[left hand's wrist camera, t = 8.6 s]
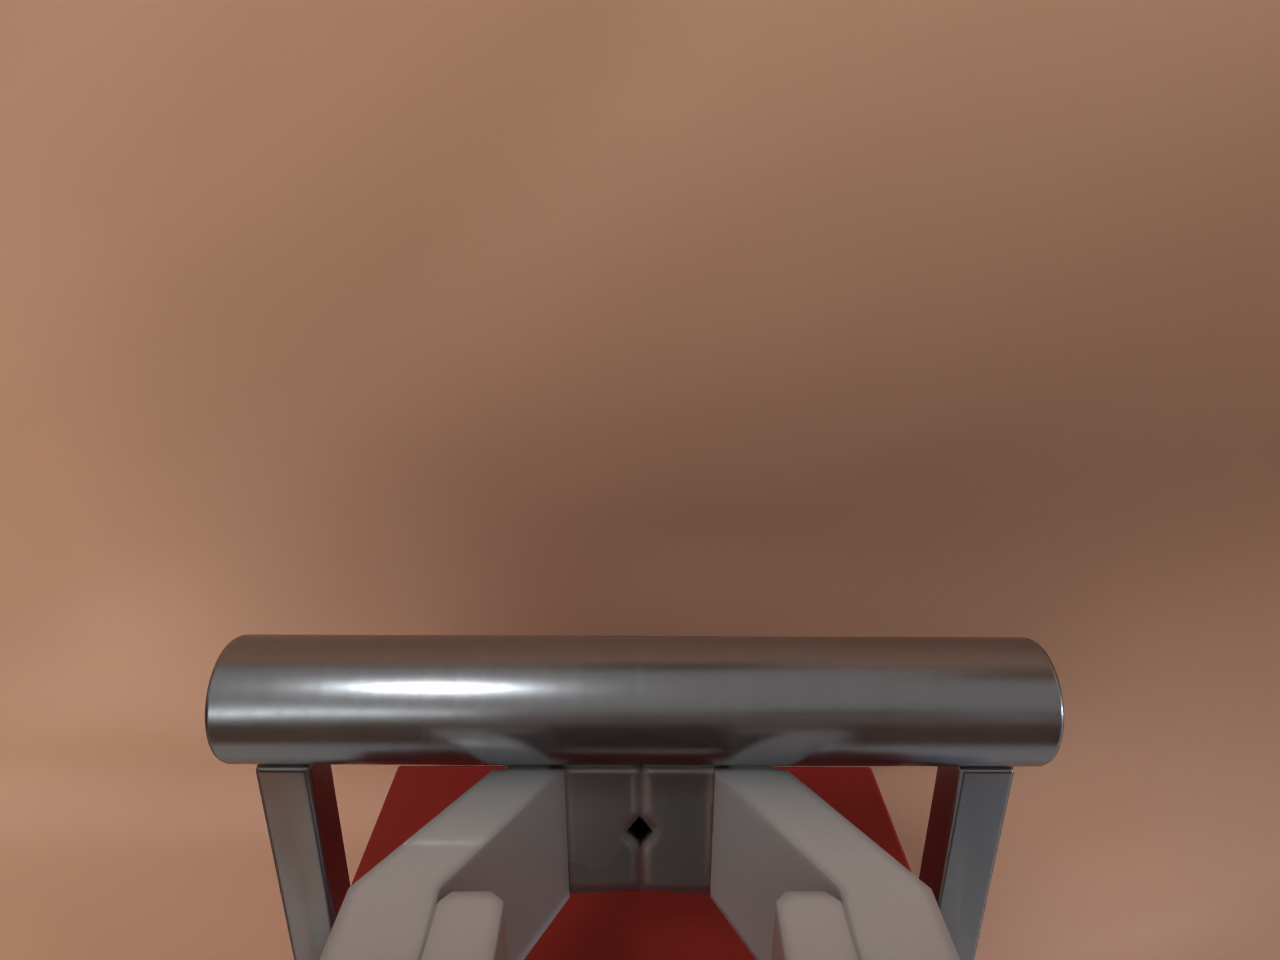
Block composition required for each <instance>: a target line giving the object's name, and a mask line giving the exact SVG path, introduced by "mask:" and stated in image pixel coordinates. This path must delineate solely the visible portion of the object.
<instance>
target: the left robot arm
mask: <svg viewBox="0 0 1280 960" xmlns="http://www.w3.org/2000/svg"><path fill="white" fill-rule="evenodd" d="M630 891H648V892H683V893H710V897H711V899H712V900H713V901H714V903H715V904H716V906H717V907H718V908H719V910H720V911H721V912H722V914H723V915H724V917H725V918H726V919H727V921H728V922H729V923H730V925H731V926H732V928H733V929H734V930H735V932H736V933H737V934H738V936H739V937H740V939H741V940H742V941H743V943H744V944H745V945H746V947H747V948H748V950H749V951H750V952H751V954H752V955H753V956H754V958H755V959H756V960H960V958H959V956H958V953H957V951H956V948H955V946H954V943H953V941H952V939H951V936H950V934H949V931H948V929H947V926H946V924H945V921H944V919H943V916H942V914H941V911H940V909H939V906H938V904H937V902H936V899H935V897H934V894H933V892H932V889H931V888H930V887H928V886H927V885H926V884H925V883H923V882H922V881H921V880H920V879H919V878H917V877H916V876H915V875H914V874H913V873H911V872H910V871H909V870H908V869H906V868H905V867H904V866H903V865H902V864H900V863H899V862H898V861H897V860H896V859H894V858H893V857H892V856H891V855H890V854H888V853H887V852H886V851H885V850H883V849H882V848H881V847H880V846H879V845H877V844H876V843H875V842H874V841H873V840H871V839H870V838H869V837H868V836H866V835H865V834H864V833H863V832H862V831H860V830H859V829H858V828H857V827H856V826H854V825H853V824H852V823H851V822H849V821H848V820H847V819H846V818H845V817H843V816H842V815H841V814H840V813H839V812H837V811H836V810H835V809H834V808H833V807H831V806H830V805H829V804H828V803H826V802H825V801H824V800H823V799H822V798H820V797H819V796H818V795H817V794H816V793H814V792H813V791H812V790H811V789H809V788H808V787H807V786H806V785H805V784H803V783H802V782H801V781H800V780H799V779H797V778H796V777H795V776H794V775H792V774H791V773H790V772H789V771H788V770H786V769H774V766H734V765H506V766H505V769H493V770H492V771H491V772H489V773H488V774H487V775H486V776H485V777H483V778H482V779H481V780H480V781H478V782H477V783H476V784H475V785H474V786H472V787H471V788H470V789H469V790H467V791H466V792H465V793H464V794H463V795H461V796H460V797H459V798H458V799H456V800H455V801H454V802H453V803H452V804H450V805H449V806H448V807H447V808H445V809H444V810H443V811H442V812H441V813H439V814H438V815H437V816H436V817H435V818H433V819H432V820H431V821H430V822H428V823H427V824H426V825H425V826H424V827H422V828H421V829H420V830H419V831H417V832H416V833H415V834H414V835H413V836H411V837H410V838H409V839H408V840H406V841H405V842H404V843H403V844H402V845H400V846H399V847H398V848H397V849H395V850H394V851H393V852H392V853H391V854H389V855H388V856H387V857H386V858H384V859H383V860H382V861H381V862H380V863H378V864H377V865H376V866H375V867H374V868H372V869H371V870H370V871H369V872H367V873H366V874H365V875H364V876H363V877H361V878H360V879H359V880H358V881H356V882H355V883H354V884H353V885H352V886H350V887H349V889H348V891H347V893H346V896H345V898H344V901H343V903H342V905H341V908H340V910H339V913H338V915H337V918H336V920H335V922H334V925H333V927H332V930H331V932H330V935H329V937H328V939H327V942H326V944H325V947H324V949H323V952H322V954H321V956H320V959H319V960H524V959H525V958H526V956H527V955H528V953H529V952H530V951H531V949H532V948H533V947H534V945H535V944H536V943H537V941H538V940H539V938H540V937H541V936H542V934H543V933H544V932H545V930H546V929H547V928H548V926H549V925H550V923H551V922H552V921H553V919H554V918H555V917H556V915H557V914H558V912H559V911H560V910H561V908H562V907H563V906H564V904H565V903H566V902H567V900H568V899H569V893H596V892H630Z"/></svg>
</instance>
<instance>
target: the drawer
mask: <svg viewBox="0 0 1280 960" xmlns="http://www.w3.org/2000/svg"><path fill="white" fill-rule="evenodd" d="M205 727H206V734H207V739H208V743H209V746H210V748H211V750H212V752H213V754H214V755H215V756H216V757H217V758H218V759H219V760H220V761H222V762H224V763H227V764H257V768H256V774H257V779H258V784H259V788H260V793H261V798H262V803H263V808H264V813H265V818H266V823H267V828H268V833H269V838H270V843H271V848H272V852H273V857H274V862H275V867H276V872H277V877H278V882H279V887H280V892H281V897H282V902H283V907H284V912H285V917H286V921H287V926H288V931H289V936H290V941H291V946H292V951H293V956H294V960H319V959H320V956H321V954H322V952H323V949H324V947H325V944H326V942H327V939H328V937H329V935H330V932H331V930H332V927H333V925H334V922H335V920H336V918H337V915H338V913H339V910H340V908H341V905H342V903H343V901H344V898H345V896H346V893H347V891H348V889H349V887H350V881H349V875H348V869H347V863H346V857H345V850H344V844H343V838H342V832H341V826H340V819H339V813H338V807H337V801H336V795H335V788H334V782H333V776H332V770H331V764H409V765H734V766H938V770H937V776H936V781H935V787H934V793H933V799H932V805H931V811H930V817H929V823H928V828H927V834H926V840H925V846H924V852H923V858H922V864H921V870H920V875H919V879H920V880H921V881H922V882H923V883H925V884H926V885H927V886H928V887H930V888H931V889H932V892H933V894H934V897H935V899H936V902H937V904H938V906H939V909H940V911H941V914H942V916H943V919H944V921H945V924H946V926H947V929H948V931H949V934H950V936H951V939H952V941H953V943H954V946H955V948H956V951H957V953H958V956H959V958H960V960H974V957H975V952H976V948H977V943H978V938H979V934H980V929H981V924H982V919H983V915H984V910H985V905H986V901H987V896H988V891H989V886H990V882H991V877H992V872H993V868H994V863H995V858H996V853H997V849H998V844H999V839H1000V835H1001V830H1002V825H1003V820H1004V816H1005V811H1006V806H1007V802H1008V797H1009V792H1010V788H1011V783H1012V778H1013V773H1014V771H1013V767H1012V766H1043V765H1045V764H1047V763H1049V762H1050V761H1052V759H1053V758H1054V757H1055V756H1056V754H1057V752H1058V750H1059V747H1060V744H1061V741H1062V735H1063V727H1064V708H1063V699H1062V693H1061V688H1060V684H1059V680H1058V677H1057V674H1056V671H1055V669H1054V666H1053V664H1052V662H1051V660H1050V658H1049V656H1048V655H1047V653H1046V652H1045V651H1044V649H1043V648H1042V647H1041V646H1040V645H1039V644H1038V643H1036V642H1035V641H1033V640H1030V639H1028V638H1016V637H751V636H486V635H242V636H240V637H237V638H235V639H233V640H232V641H231V642H230V643H229V644H228V645H227V646H226V647H225V648H224V650H223V651H222V653H221V654H220V656H219V658H218V660H217V662H216V664H215V666H214V669H213V672H212V675H211V678H210V682H209V686H208V690H207V696H206V704H205ZM493 769H505V766H400V767H399V768H398V770H397V772H396V775H395V777H394V780H393V782H392V785H391V787H390V790H389V792H388V795H387V797H386V800H385V802H384V805H383V807H382V810H381V812H380V815H379V817H378V820H377V822H376V825H375V827H374V830H373V832H372V835H371V837H370V840H369V842H368V845H367V847H366V850H365V852H364V855H363V857H362V860H361V862H360V865H359V867H358V870H357V872H356V875H355V877H354V880H353V882H352V885H353V884H354V883H355V882H356V881H358V880H359V879H360V878H361V877H363V876H364V875H365V874H366V873H367V872H369V871H370V870H371V869H372V868H374V867H375V866H376V865H377V864H378V863H380V862H381V861H382V860H383V859H384V858H386V857H387V856H388V855H389V854H391V853H392V852H393V851H394V850H395V849H397V848H398V847H399V846H400V845H402V844H403V843H404V842H405V841H406V840H408V839H409V838H410V837H411V836H413V835H414V834H415V833H416V832H417V831H419V830H420V829H421V828H422V827H424V826H425V825H426V824H427V823H428V822H430V821H431V820H432V819H433V818H435V817H436V816H437V815H438V814H439V813H441V812H442V811H443V810H444V809H445V808H447V807H448V806H449V805H450V804H452V803H453V802H454V801H455V800H456V799H458V798H459V797H460V796H461V795H463V794H464V793H465V792H466V791H467V790H469V789H470V788H471V787H472V786H474V785H475V784H476V783H477V782H478V781H480V780H481V779H482V778H483V777H485V776H486V775H487V774H488V773H489V772H491V771H492V770H493ZM774 769H786V770H788V771H789V772H790V773H791V774H792V775H794V776H795V777H796V778H797V779H799V780H800V781H801V782H802V783H803V784H805V785H806V786H807V787H808V788H809V789H811V790H812V791H813V792H814V793H816V794H817V795H818V796H819V797H820V798H822V799H823V800H824V801H825V802H826V803H828V804H829V805H830V806H831V807H833V808H834V809H835V810H836V811H837V812H839V813H840V814H841V815H842V816H843V817H845V818H846V819H847V820H848V821H849V822H851V823H852V824H853V825H854V826H856V827H857V828H858V829H859V830H860V831H862V832H863V833H864V834H865V835H866V836H868V837H869V838H870V839H871V840H873V841H874V842H875V843H876V844H877V845H879V846H880V847H881V848H882V849H883V850H885V851H886V852H887V853H888V854H890V855H891V856H892V857H893V858H894V859H896V860H897V861H898V862H899V863H900V864H902V865H903V866H904V867H905V868H906V869H908V870H909V871H910V872H911V870H910V867H909V865H908V862H907V860H906V857H905V854H904V852H903V849H902V847H901V844H900V842H899V839H898V836H897V834H896V831H895V829H894V826H893V823H892V821H891V818H890V816H889V813H888V811H887V808H886V805H885V803H884V800H883V798H882V795H881V793H880V790H879V787H878V785H877V782H876V780H875V777H874V775H873V772H872V769H871V768H868V767H774ZM911 873H912V872H911ZM352 885H351V886H352ZM524 960H756V959H755V958H754V956H753V955H752V954H751V952H750V951H749V950H748V948H747V947H746V945H745V944H744V943H743V941H742V940H741V939H740V937H739V936H738V934H737V933H736V932H735V930H734V929H733V928H732V926H731V925H730V923H729V922H728V921H727V919H726V918H725V917H724V915H723V914H722V912H721V911H720V910H719V908H718V907H717V906H716V904H715V903H714V901H713V900H712V899H711V897H710V893H683V892H648V891H630V892H596V893H569V899H568V900H567V902H566V903H565V904H564V906H563V907H562V908H561V910H560V911H559V912H558V914H557V915H556V917H555V918H554V919H553V921H552V922H551V923H550V925H549V926H548V928H547V929H546V930H545V932H544V933H543V934H542V936H541V937H540V938H539V940H538V941H537V943H536V944H535V945H534V947H533V948H532V949H531V951H530V952H529V953H528V955H527V956H526V958H525V959H524Z"/></svg>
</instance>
